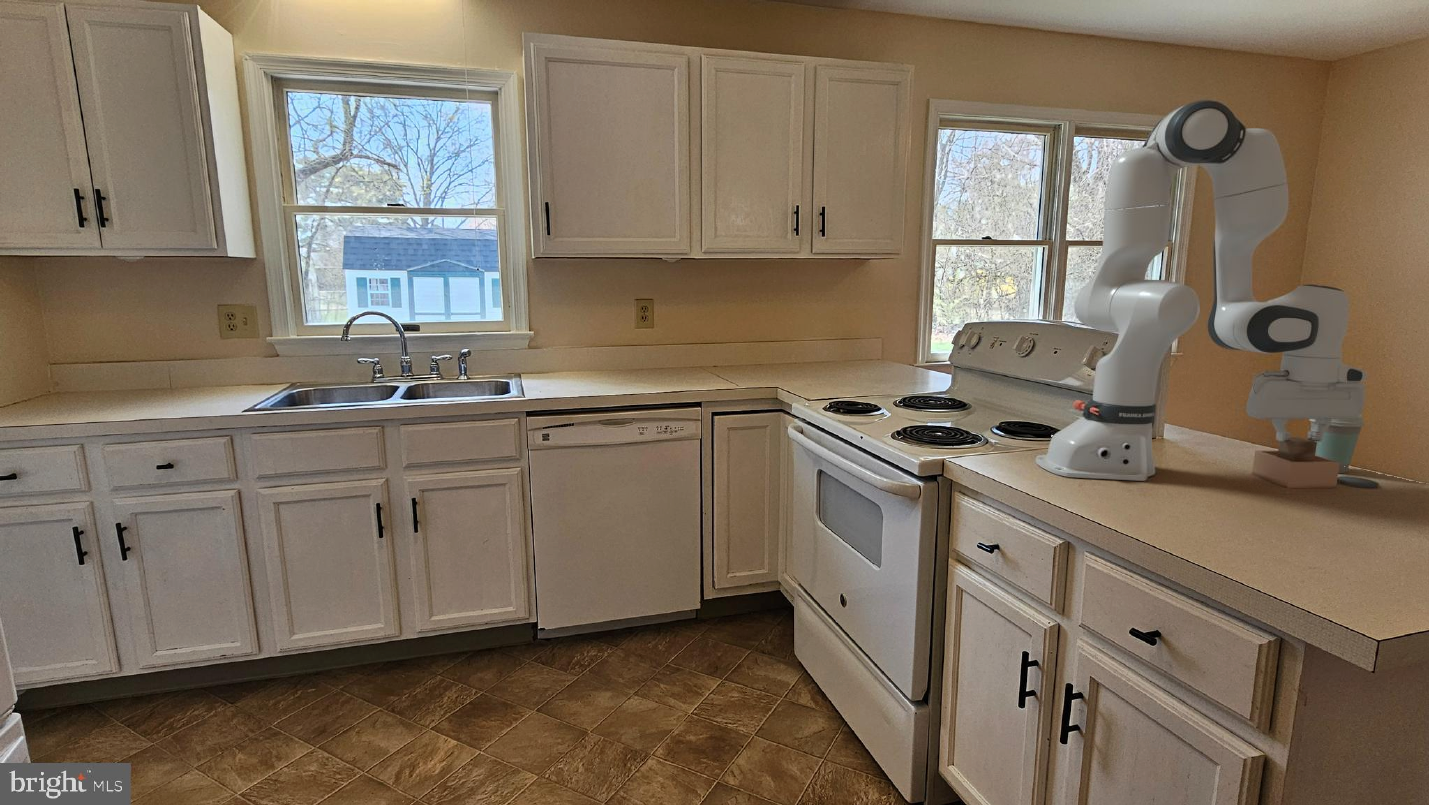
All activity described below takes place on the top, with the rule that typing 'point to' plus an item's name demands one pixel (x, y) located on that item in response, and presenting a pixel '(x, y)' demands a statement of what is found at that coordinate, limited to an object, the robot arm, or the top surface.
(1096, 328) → the robot arm
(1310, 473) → the pink open square tray
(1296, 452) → the walnut block
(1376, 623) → the top surface
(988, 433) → the top surface
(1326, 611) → the top surface
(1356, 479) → the dark grey flat disc
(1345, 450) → the coffee cup
